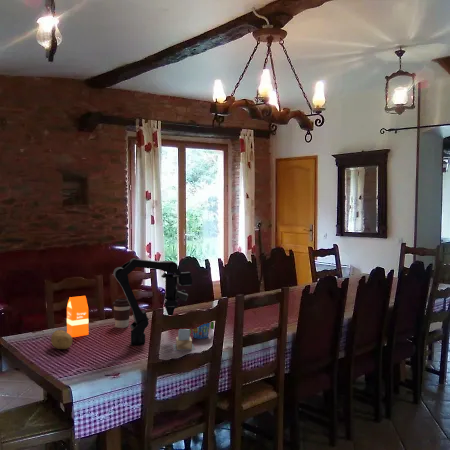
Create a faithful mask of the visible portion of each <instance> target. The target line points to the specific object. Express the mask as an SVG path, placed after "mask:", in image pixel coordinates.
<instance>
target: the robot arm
mask: <svg viewBox="0 0 450 450" xmlns="http://www.w3.org/2000/svg"><path fill="white" fill-rule="evenodd" d="M136 268H143V269H152V270H160V271H162V272H163V274H161V275H160V277H161V278H163V279H164V280H165V281H164V283H165V284H164V285H165V287H164V288H165V289H164V308H165V311H166V313H167V315H173V316H174V312H175V309H176V308H177V307H178V305H179V304H178V303H179V302H178V299H180V300H182V301H183V302H187V299H188V297H189V294H188V293H186V290H185V289H182V290H178V286H177V285H179V286H182V287H184V286H192V285H193V279H192V273H191V272H190V271H185V272H181V271H180V270H179V265H178V263H177V262H175V261H172V260H161V261H157V260H148V259H140V258H139V259H138V258H134V257H133V258H131V259H130V260H129V261H127V262H125V263H124V264H123V265H121V266H117V267H116V268H114V270H113V276H114V278H115V279H116V281H117V282H118V283H119V285H120V287H121V289H122V291H123V293H124V295H125V299H127V300H128V302H129V304H130V310H131V311H132V315H133V320H134V321H132V323H131V324H130V325H129V327H130V329H131V330H130V346H144V345H145V343H146V332H145V329H147V327H149V325H150V324H149V320H150V319H149V318H148V315H147V312H146V311H145V310H144V309H142V310H141V307H140V306H139V303H138V301H137V298H136V296H135V294H134V292H133V290H132V287H131V285H130V281H129V276H128V275H129V274H131V273H132V272H133V271H134V270H135V269H136ZM174 274H175V275H174Z"/></svg>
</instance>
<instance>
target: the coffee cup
mask: <svg viewBox="0 0 450 450" xmlns="http://www.w3.org/2000/svg"><path fill="white" fill-rule="evenodd" d="M112 306H113V318H114V327H115V328H118V329H124V328H128V327H129V326H130V325H129V323H130V316H131V307H130V304H129V302H128V300H127V298H118V299H115V300H114V301H113V302H112Z"/></svg>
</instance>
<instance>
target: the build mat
mask: <svg viewBox="0 0 450 450" xmlns="http://www.w3.org/2000/svg"><path fill="white" fill-rule="evenodd" d="M172 347H173V351H174V352H175V351H177V352H178V351H196V347H195V344H194V343H192V349H178V350H177V347H176V343H175V344H172Z"/></svg>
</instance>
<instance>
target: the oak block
mask: <svg viewBox="0 0 450 450" xmlns="http://www.w3.org/2000/svg"><path fill="white" fill-rule="evenodd" d="M175 340H176V341H175V344H176V347H177V350H178V349H192V344H193V340H192V336H190V340H179V338H178V336H176V337H175Z"/></svg>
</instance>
